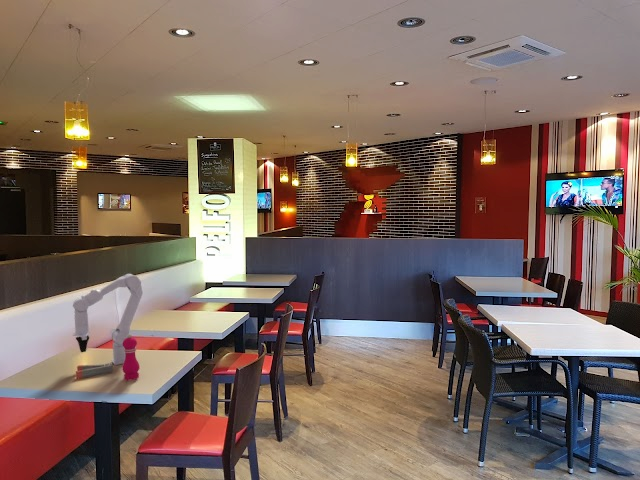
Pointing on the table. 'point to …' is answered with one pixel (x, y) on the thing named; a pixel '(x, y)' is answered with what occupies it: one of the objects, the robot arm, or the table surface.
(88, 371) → the tongs body
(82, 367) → the tongs jaw
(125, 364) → the pepper mill
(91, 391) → the table surface
